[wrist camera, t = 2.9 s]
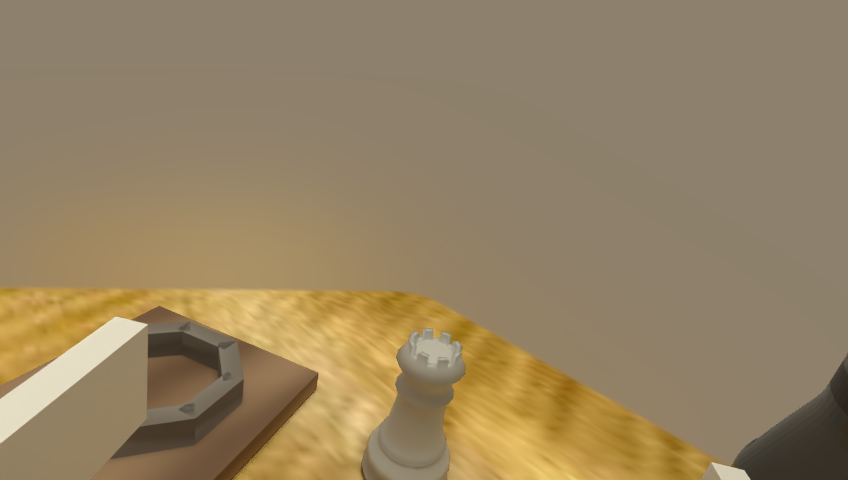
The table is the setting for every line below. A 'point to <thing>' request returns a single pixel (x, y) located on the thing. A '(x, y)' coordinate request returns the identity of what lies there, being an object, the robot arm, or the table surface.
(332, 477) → the table surface
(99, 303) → the table surface
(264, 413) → the socket board
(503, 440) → the table surface
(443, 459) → the rook chess piece
